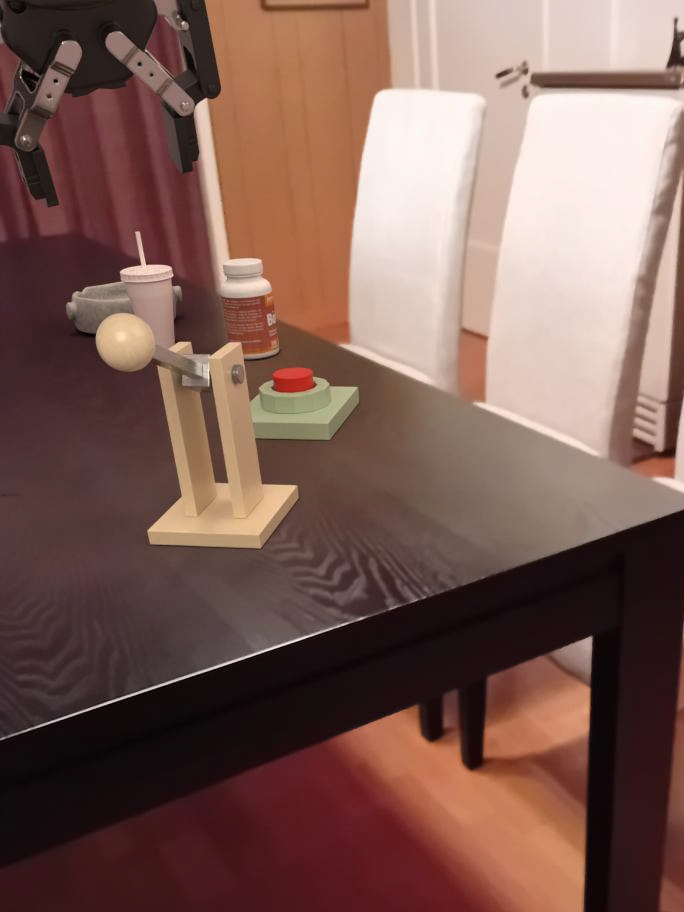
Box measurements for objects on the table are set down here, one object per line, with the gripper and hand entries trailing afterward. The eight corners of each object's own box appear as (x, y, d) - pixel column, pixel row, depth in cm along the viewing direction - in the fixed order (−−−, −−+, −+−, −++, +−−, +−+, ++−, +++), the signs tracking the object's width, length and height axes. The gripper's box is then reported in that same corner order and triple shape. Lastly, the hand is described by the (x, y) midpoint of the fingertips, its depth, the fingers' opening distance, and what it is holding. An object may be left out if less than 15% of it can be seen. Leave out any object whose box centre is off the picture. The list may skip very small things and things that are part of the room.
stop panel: (329, 440, 98) (326, 405, 96) (231, 438, 99) (225, 403, 97) (359, 402, 108) (356, 369, 106) (269, 400, 109) (265, 368, 108)
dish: (192, 314, 147) (186, 278, 144) (157, 338, 135) (150, 299, 132) (97, 314, 148) (89, 278, 145) (54, 338, 136) (45, 300, 134)
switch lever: (139, 367, 62) (139, 307, 62) (84, 366, 63) (84, 306, 62) (232, 400, 77) (233, 352, 77) (188, 400, 78) (188, 352, 77)
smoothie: (174, 338, 134) (154, 226, 127) (193, 348, 130) (174, 232, 123) (127, 347, 131) (104, 232, 124) (145, 357, 126) (122, 238, 119)
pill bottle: (282, 357, 124) (270, 263, 119) (232, 363, 123) (217, 267, 117) (277, 345, 130) (265, 254, 124) (228, 350, 128) (214, 258, 123)
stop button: (308, 396, 100) (306, 378, 99) (269, 395, 101) (267, 378, 100) (319, 384, 104) (317, 367, 103) (281, 383, 104) (279, 366, 103)
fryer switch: (260, 548, 77) (233, 369, 70) (149, 544, 78) (111, 367, 71) (299, 498, 85) (278, 333, 78) (198, 495, 87) (168, 332, 80)
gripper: (155, -171, 54) (200, 128, 67) (-129, -137, 49) (-19, 178, 62) (212, -114, 50) (248, 188, 64) (-86, -72, 45) (21, 246, 59)
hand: (116, 183), depth 63 cm, fingers open, 8 cm apart
